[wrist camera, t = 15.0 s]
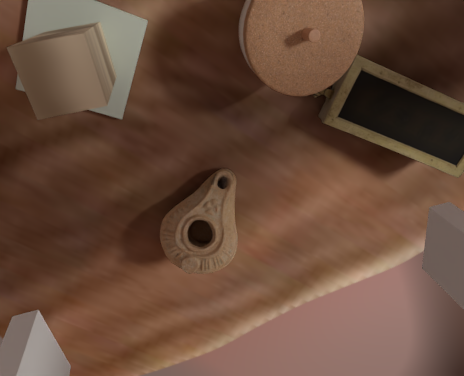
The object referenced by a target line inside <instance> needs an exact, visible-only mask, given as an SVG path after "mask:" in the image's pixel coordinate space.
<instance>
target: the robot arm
mask: <svg viewBox="0 0 464 376" xmlns="http://www.w3.org/2000/svg"><path fill="white" fill-rule="evenodd" d="M422 269H423V270H424V271H425V272H426V273H427V274H428V275H430V277H431V278H432V279H434V280H435V281H436V282H437V283H438V284H439V285H440V286H441V287H442V288H443V289H444V290H445V291H446V292H447V293H448V294H449V295H450V296H451V297H452V298H453V299H454V300H455V301H456V302H457V303H458V304H459V305H460V306H461V307H462V308H463V309H464V211H462V210H461V209H459V208H458V207H456V206H455V205H453V204H452V203H450V202H448V203H444V204H440V205H436V206H432V207H429V215H428V223H427V231H426V239H425V248H424V256H423V264H422ZM70 369H71V366H70V364H69V362H68V360H67V359H66V357H65V355H64V353H63V352H62V350H61V348H60V347H59V345H58V343H57V341H56V340H55V338H54V336H53V334H52V333H51V331H50V329H49V328H48V326H47V324H46V322H45V321H44V319H43V317H42V315H41V314H40V312H39V310H35V311H31V312H28V313H24V314H20V315H16V316H12V319H11V321H10V324H9V326H8V329H7V331H6V334H5V336H4V339H3V341H2V344H1V346H0V376H69V374H70Z"/></svg>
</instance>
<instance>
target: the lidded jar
mask: <svg viewBox="0 0 464 376" xmlns="http://www.w3.org/2000/svg"><path fill="white" fill-rule="evenodd" d="M238 30H239V42H240V47H241V50H242V53H243V56H244V58H245V60H246V62H247V64H248V65H249V67H250V68H251V69H252V71H253V72H254V73H255V74H256V75H257V77H258V78H259V79H260V80H261V81H262V82H263V83H264V84H265V85H267V86H268V87H270V88H271V89H273V90H274V91H277V92H279V93H281V94H285V95H289V96H307V95H311V94H315V93H318V92H320V91H322V90H324V89H326V88H328V87H329V86H331V85H332V84H334V83H335V82H336V81H337V80H338V79H340V78H341V77H342V75H343V74H344V73H345V72H346V71H347V70H348V68H349V67H350V65H351V64H352V62H353V60H354V59H355V57H356V55H357V52H358V50H359V47H360V45H361V41H362V36H363V30H364V11H363V6H362V1H361V0H246V1H245V4H244V6H243V8H242V11H241V15H240V19H239V29H238Z"/></svg>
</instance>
